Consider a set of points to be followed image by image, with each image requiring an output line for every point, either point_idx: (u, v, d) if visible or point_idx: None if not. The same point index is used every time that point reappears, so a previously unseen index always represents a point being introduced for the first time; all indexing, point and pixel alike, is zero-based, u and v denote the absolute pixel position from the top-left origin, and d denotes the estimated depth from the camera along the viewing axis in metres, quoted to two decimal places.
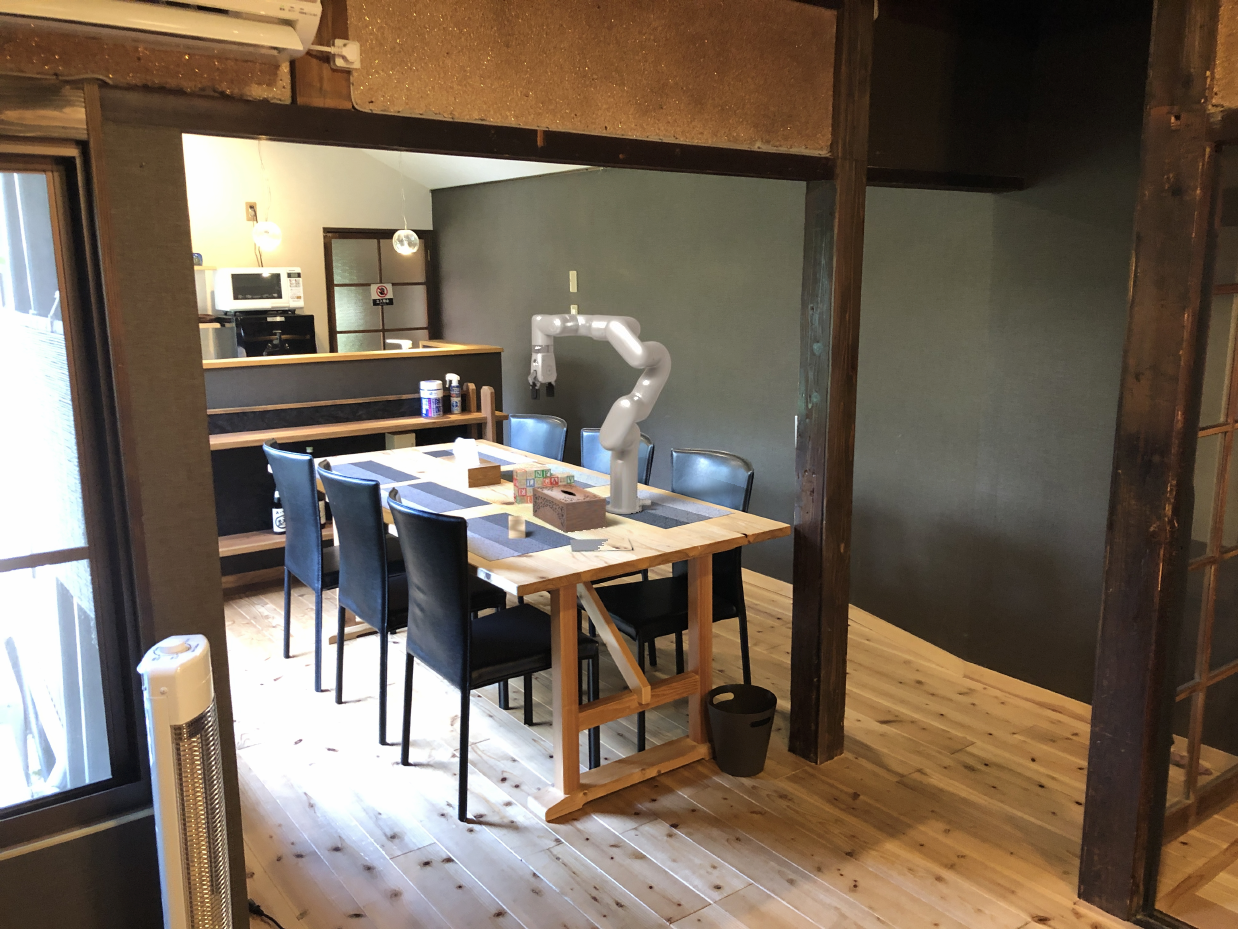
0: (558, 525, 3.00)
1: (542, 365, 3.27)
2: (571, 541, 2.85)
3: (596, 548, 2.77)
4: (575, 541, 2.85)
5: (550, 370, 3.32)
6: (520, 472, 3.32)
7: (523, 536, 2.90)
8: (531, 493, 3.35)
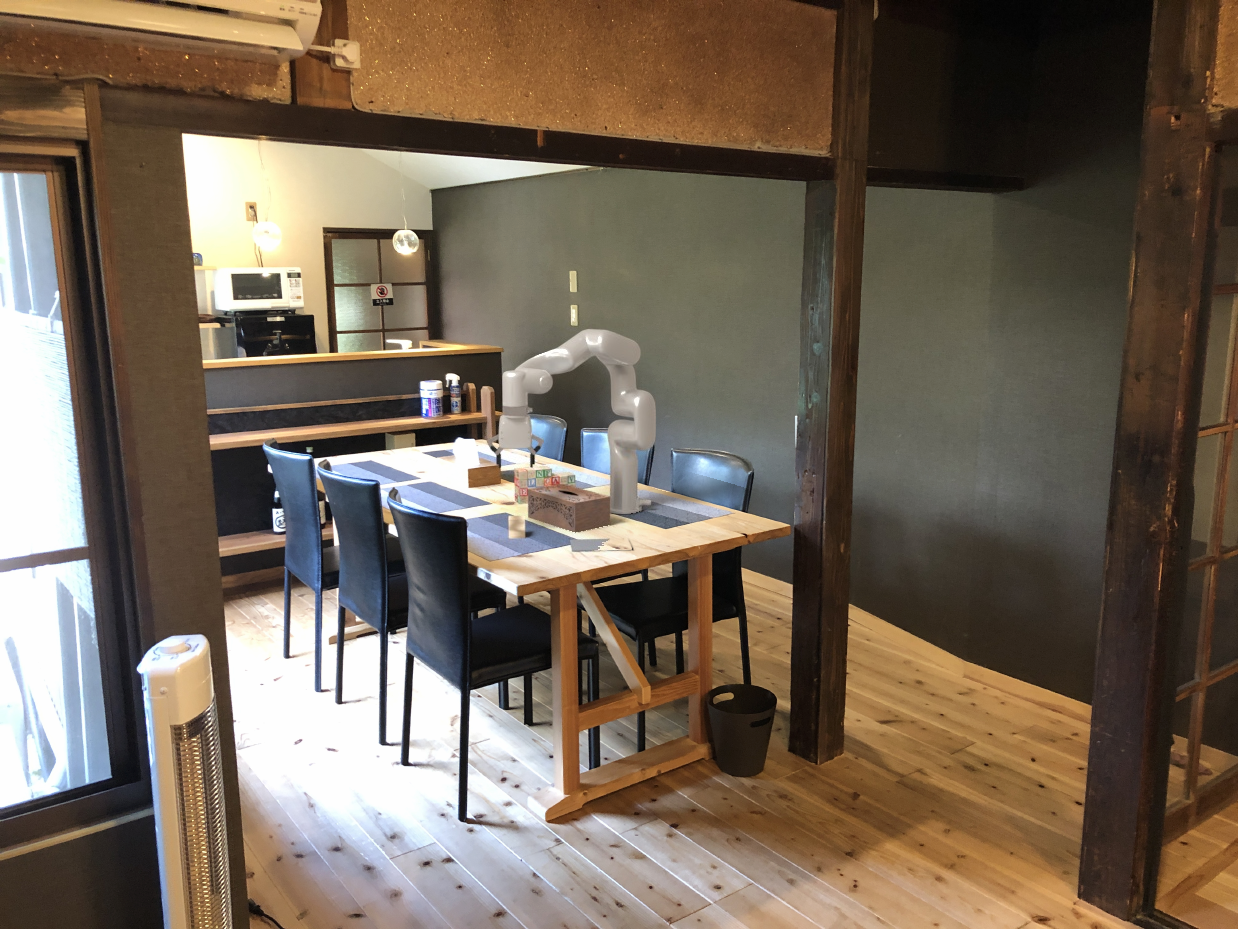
0: (565, 525, 3.00)
1: None
2: (571, 541, 2.85)
3: (596, 548, 2.77)
4: (575, 541, 2.85)
5: None
6: (521, 472, 3.33)
7: (523, 536, 2.90)
8: None
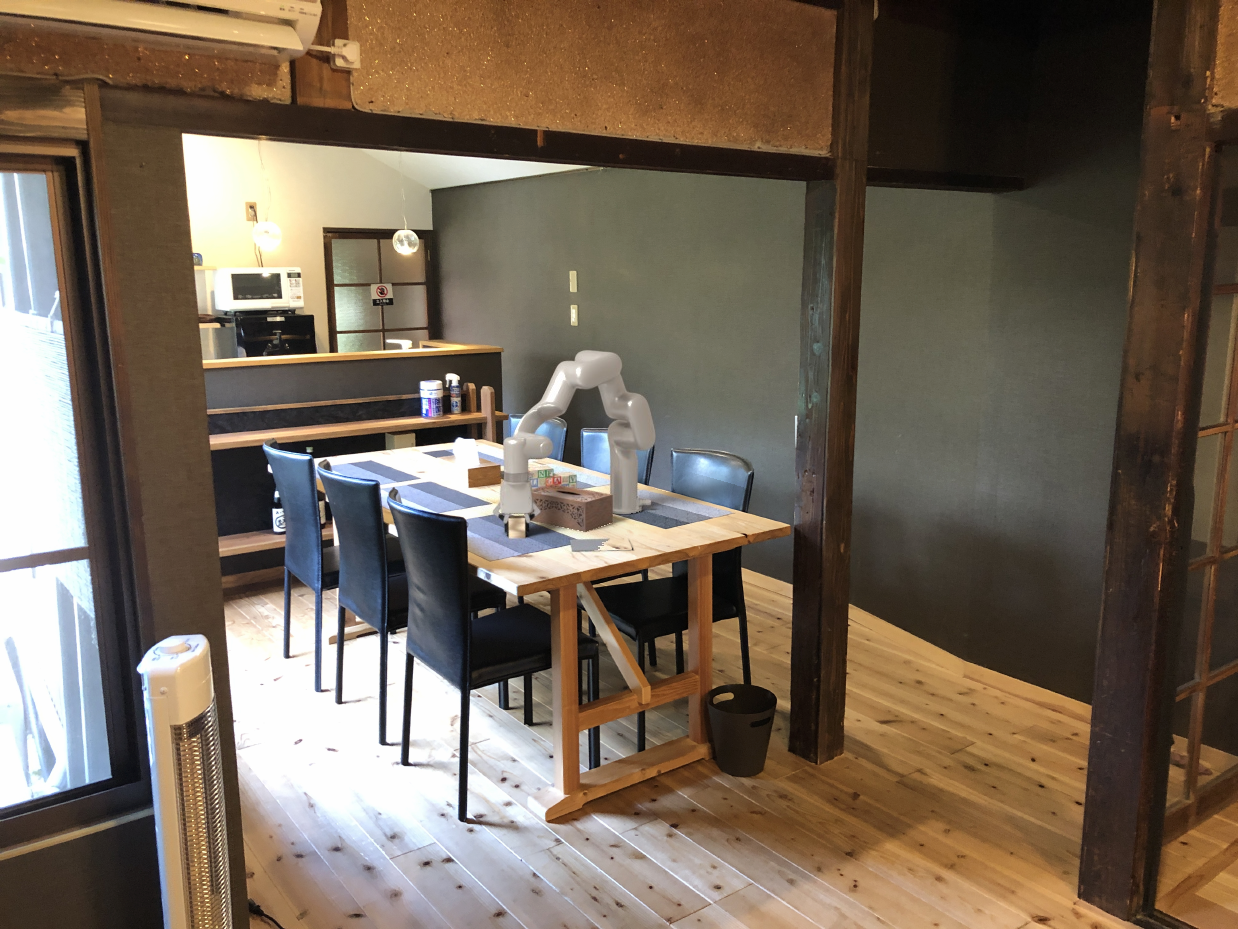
0: (572, 525, 3.00)
1: None
2: (571, 541, 2.85)
3: (596, 548, 2.77)
4: (575, 541, 2.85)
5: None
6: None
7: (523, 535, 2.90)
8: None
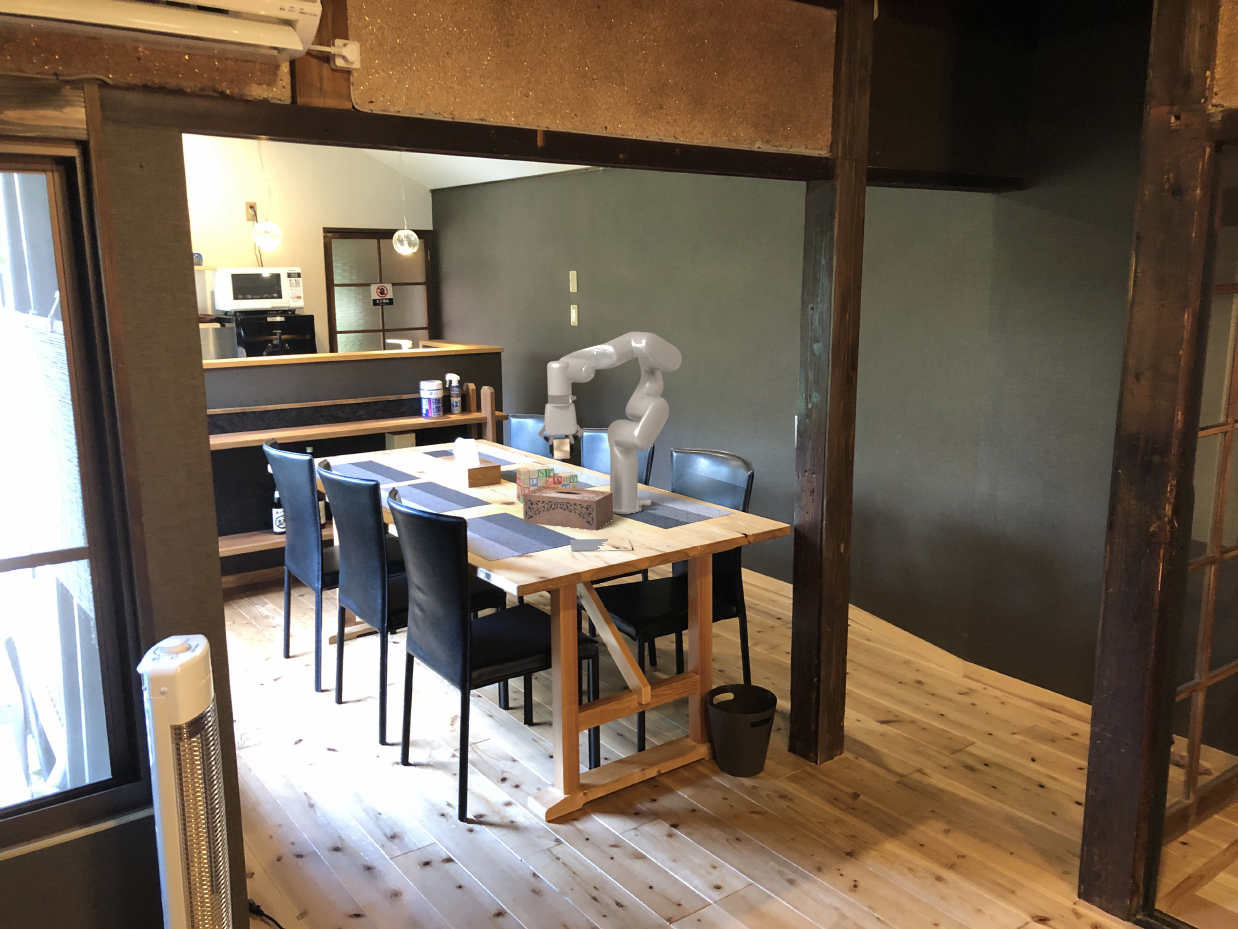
0: (580, 525, 3.01)
1: None
2: (571, 541, 2.85)
3: (596, 548, 2.77)
4: (575, 541, 2.85)
5: None
6: (523, 471, 3.34)
7: (568, 456, 3.01)
8: None
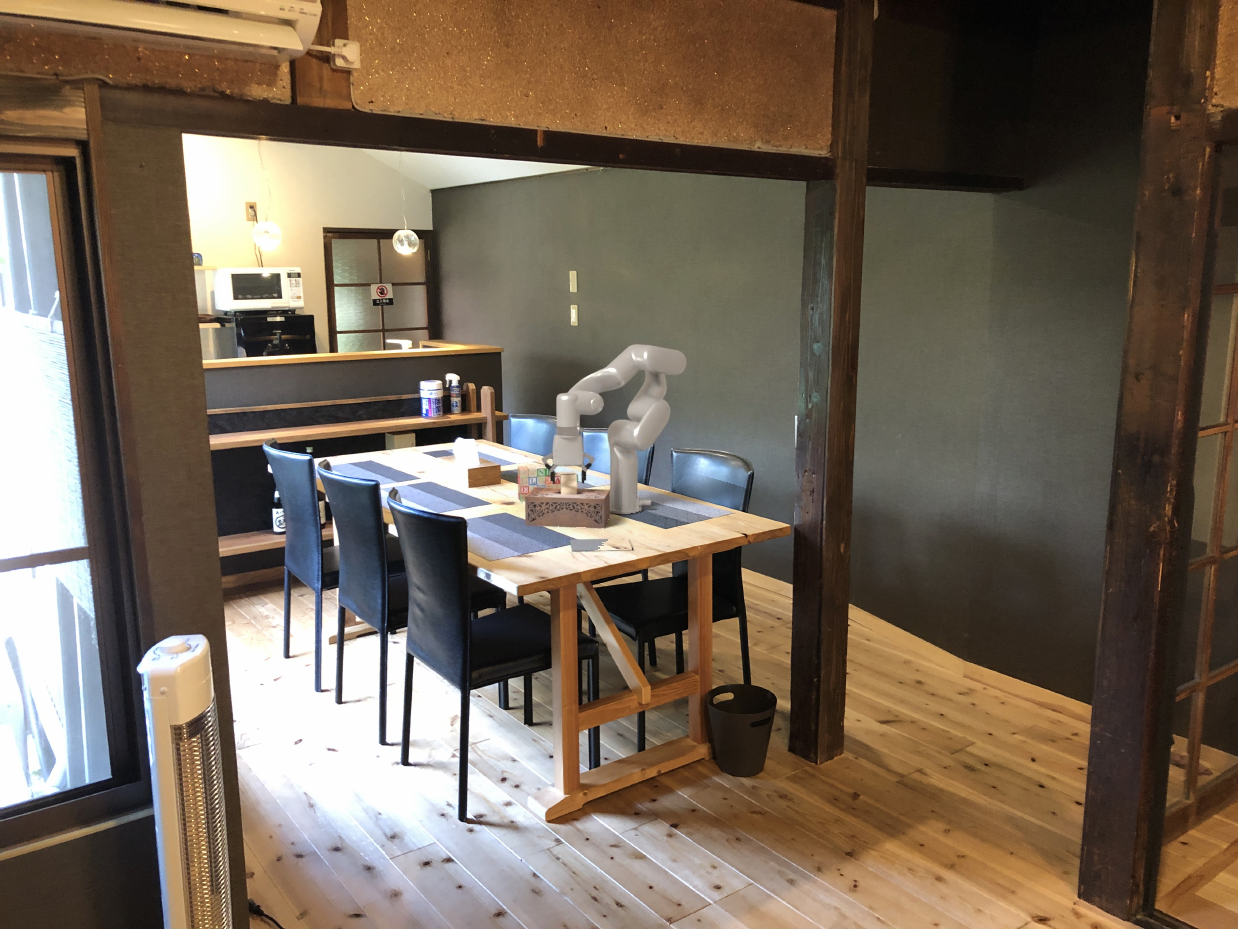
0: (588, 524, 3.02)
1: None
2: (571, 541, 2.85)
3: (596, 548, 2.77)
4: (575, 541, 2.85)
5: None
6: (522, 470, 3.36)
7: (575, 492, 3.06)
8: None
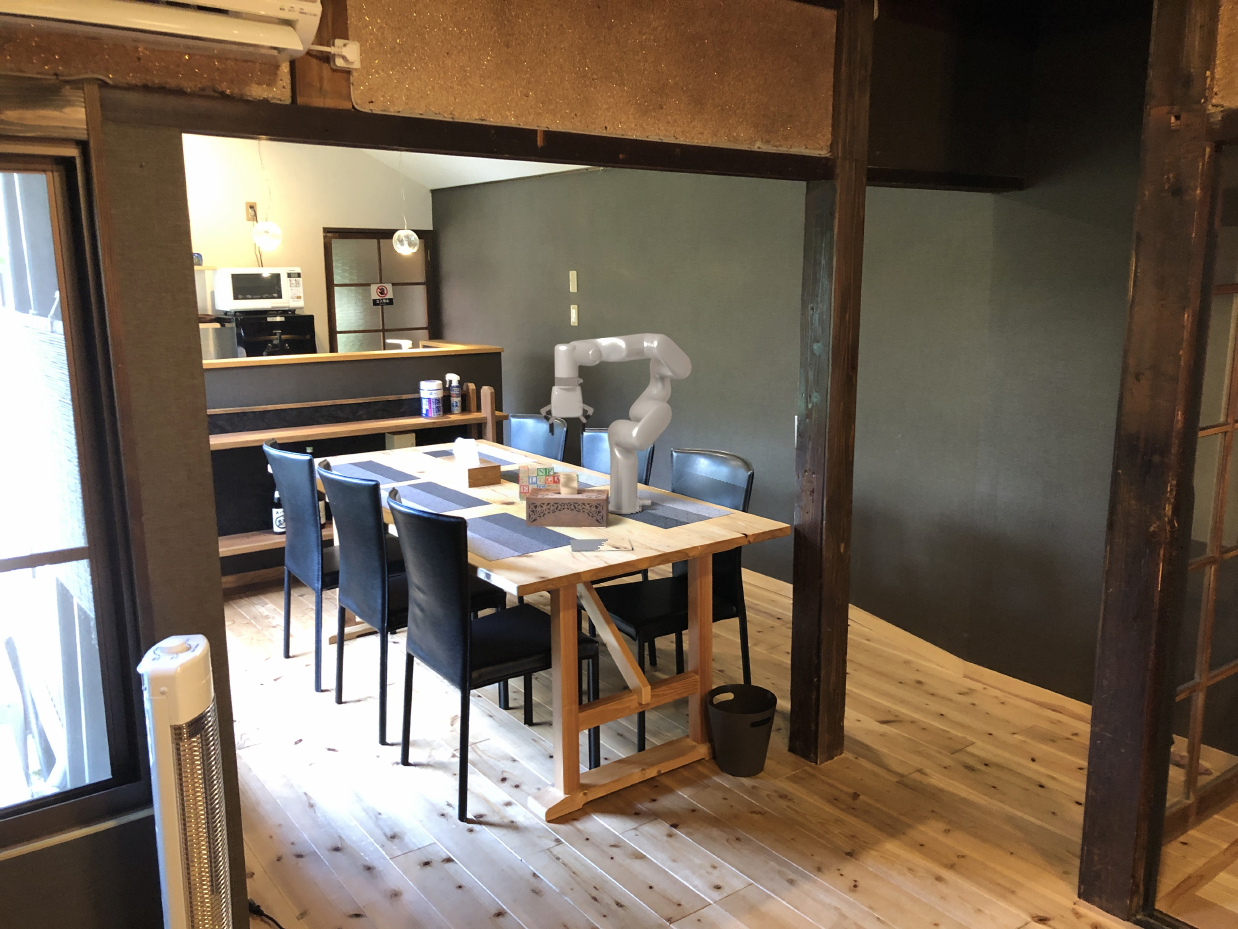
0: (589, 524, 3.03)
1: None
2: (571, 541, 2.85)
3: (596, 548, 2.77)
4: (575, 541, 2.85)
5: None
6: (522, 469, 3.37)
7: (575, 492, 3.07)
8: None
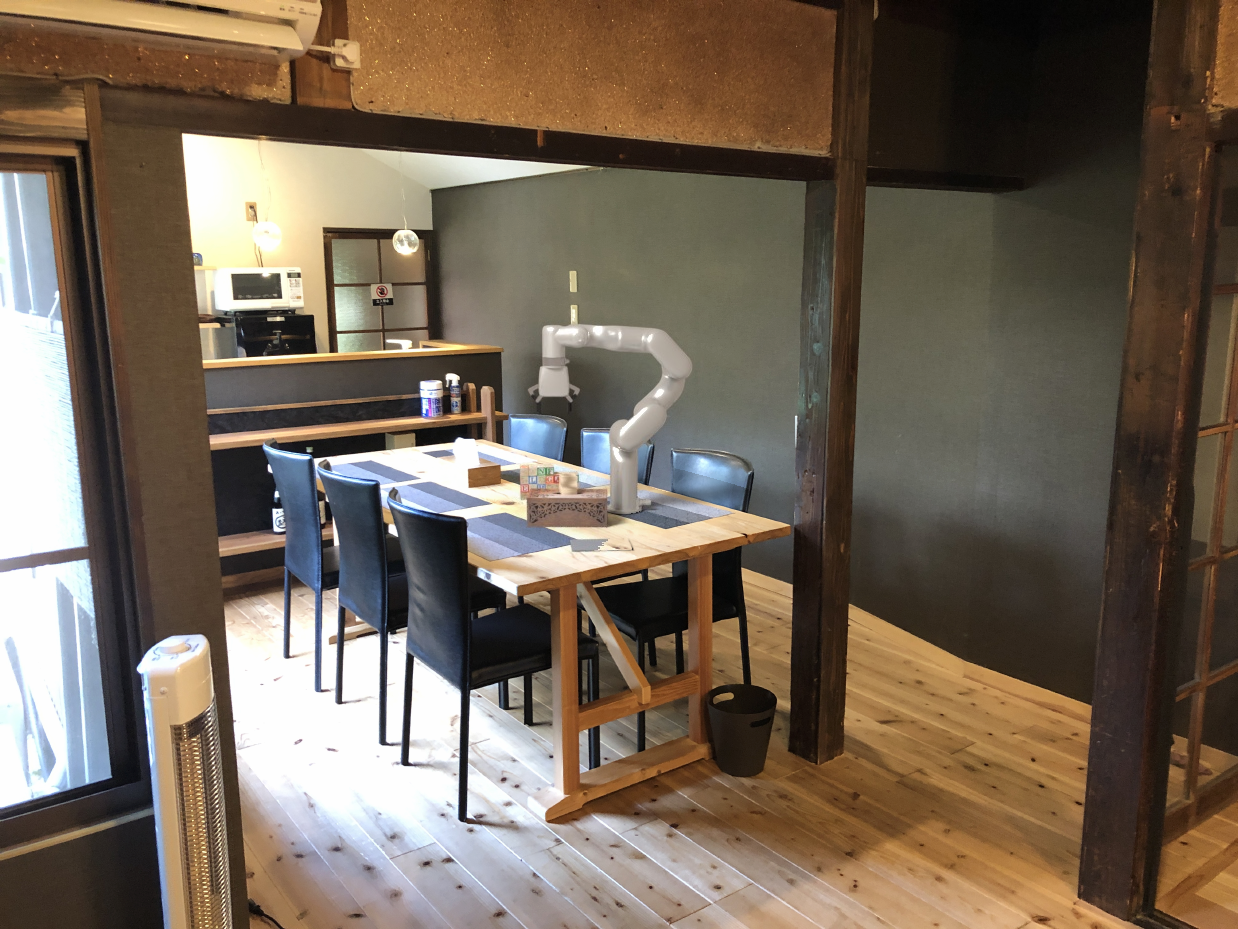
0: (590, 523, 3.03)
1: None
2: (571, 541, 2.85)
3: (596, 548, 2.77)
4: (575, 541, 2.85)
5: None
6: (522, 469, 3.39)
7: (575, 492, 3.07)
8: None
